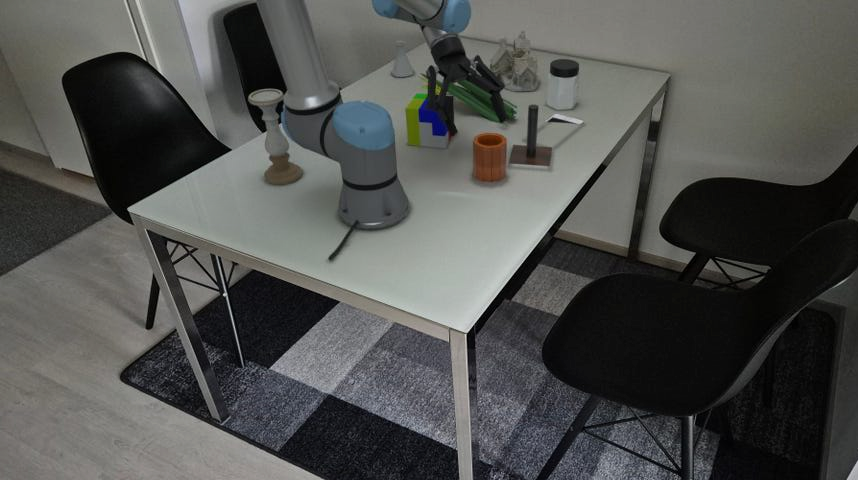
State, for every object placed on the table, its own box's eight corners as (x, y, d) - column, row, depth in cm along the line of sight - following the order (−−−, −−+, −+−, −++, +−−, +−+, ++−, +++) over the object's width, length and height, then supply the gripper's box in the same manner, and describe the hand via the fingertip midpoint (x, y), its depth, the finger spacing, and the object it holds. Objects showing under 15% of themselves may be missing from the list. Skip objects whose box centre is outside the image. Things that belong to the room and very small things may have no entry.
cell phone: (584, 123, 173) (584, 120, 172) (553, 149, 161) (553, 145, 160) (555, 116, 177) (555, 113, 176) (523, 140, 165) (523, 137, 164)
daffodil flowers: (486, 141, 167) (391, 78, 177) (506, 148, 180) (417, 88, 191) (519, 84, 162) (420, 22, 173) (537, 95, 175) (445, 37, 186)
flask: (389, 71, 205) (386, 40, 199) (411, 68, 207) (409, 37, 201) (393, 79, 200) (391, 47, 193) (416, 76, 201) (414, 45, 195)
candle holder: (263, 170, 153) (243, 90, 140) (299, 164, 155) (283, 85, 143) (266, 188, 146) (246, 105, 134) (304, 181, 149) (288, 99, 136)
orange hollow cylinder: (503, 187, 146) (504, 148, 140) (471, 185, 147) (470, 146, 141) (507, 171, 152) (508, 133, 146) (476, 169, 153) (475, 131, 147)
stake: (549, 170, 153) (553, 116, 144) (508, 167, 154) (510, 113, 145) (551, 151, 160) (555, 99, 152) (512, 148, 162) (514, 96, 153)
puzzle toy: (445, 148, 162) (444, 111, 156) (408, 144, 164) (405, 108, 157) (454, 131, 170) (453, 96, 163) (418, 128, 171) (416, 93, 165)
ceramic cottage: (487, 71, 204) (489, 25, 194) (537, 74, 203) (542, 28, 193) (485, 93, 192) (487, 45, 182) (539, 96, 192) (544, 48, 182)
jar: (570, 112, 179) (574, 71, 172) (543, 107, 182) (546, 67, 174) (579, 100, 186) (583, 60, 178) (553, 96, 188) (555, 56, 181)
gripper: (483, 42, 154) (516, 121, 154) (392, 62, 144) (427, 146, 143) (495, 26, 148) (530, 108, 147) (400, 45, 137) (438, 134, 136)
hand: (479, 127), depth 145 cm, fingers open, 13 cm apart
